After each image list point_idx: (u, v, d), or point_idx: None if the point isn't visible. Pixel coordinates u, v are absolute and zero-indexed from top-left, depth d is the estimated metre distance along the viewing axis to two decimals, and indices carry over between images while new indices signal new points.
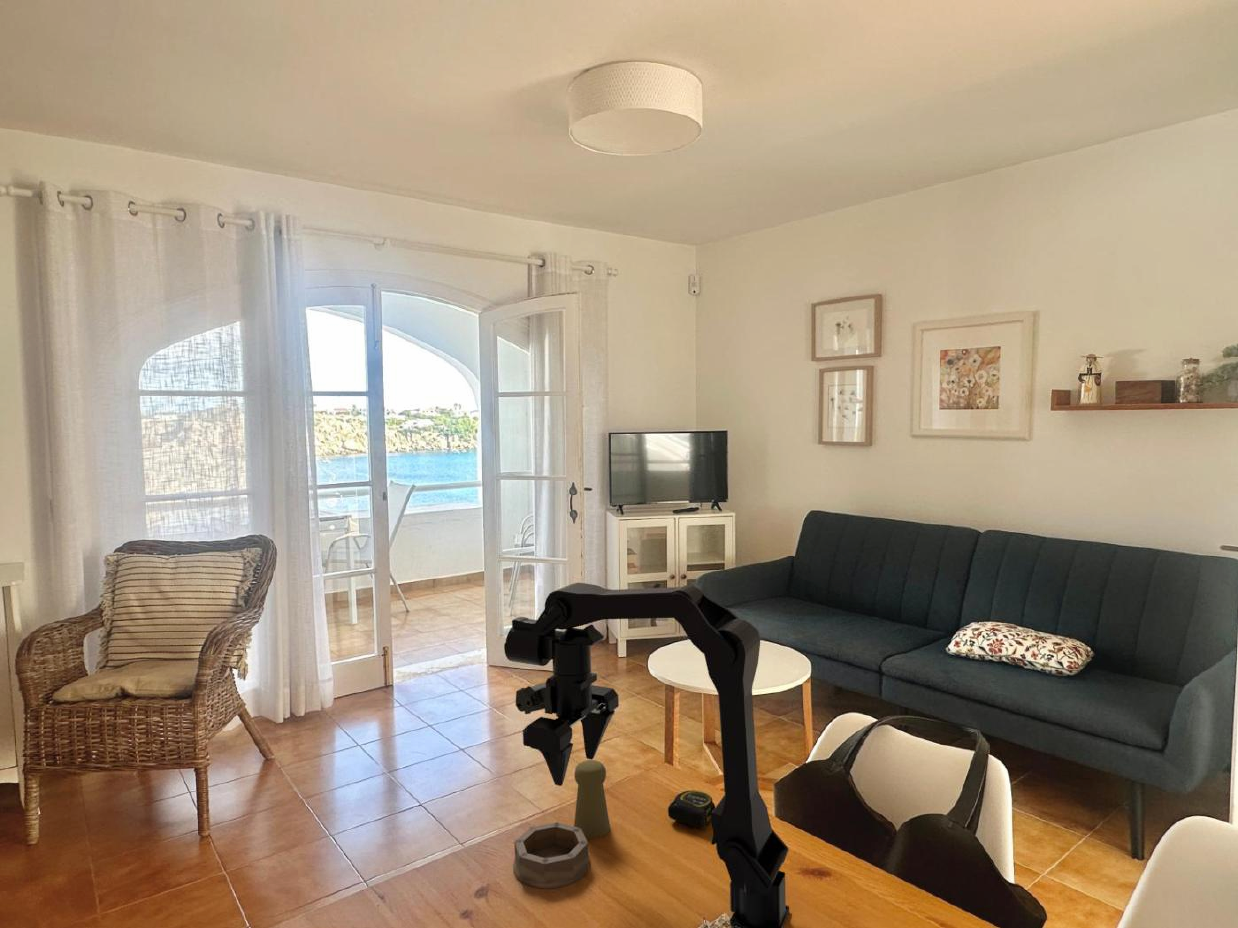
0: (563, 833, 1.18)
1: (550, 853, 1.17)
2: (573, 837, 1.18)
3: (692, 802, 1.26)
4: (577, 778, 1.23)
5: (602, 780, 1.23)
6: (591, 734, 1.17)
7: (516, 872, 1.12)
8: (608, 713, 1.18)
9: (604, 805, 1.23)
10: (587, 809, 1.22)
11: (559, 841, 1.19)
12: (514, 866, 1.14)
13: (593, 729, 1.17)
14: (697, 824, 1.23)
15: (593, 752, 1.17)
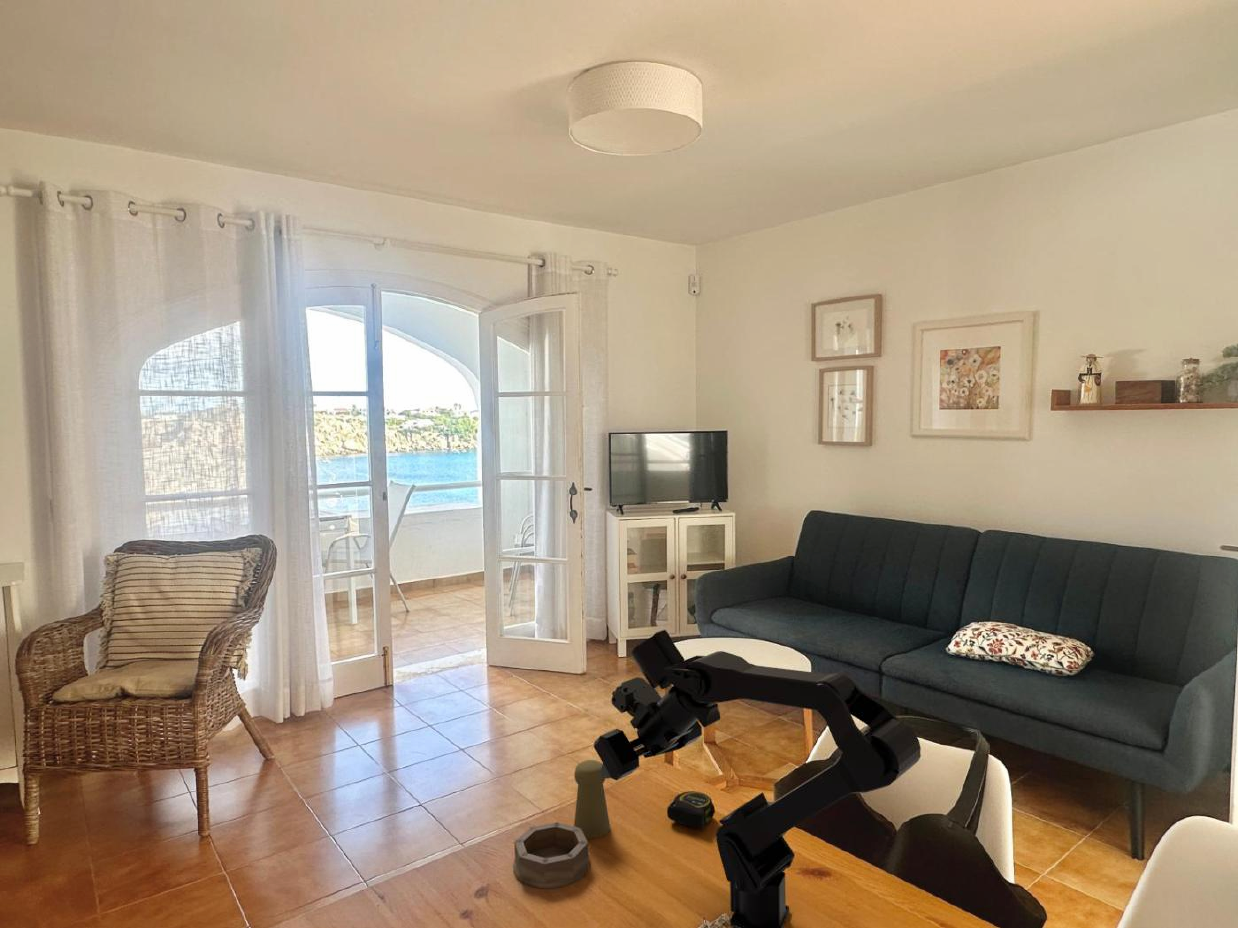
0: (563, 833, 1.18)
1: (550, 853, 1.17)
2: (573, 837, 1.18)
3: (691, 803, 1.25)
4: (577, 778, 1.23)
5: (602, 780, 1.23)
6: None
7: (516, 872, 1.12)
8: (682, 743, 1.18)
9: (604, 805, 1.23)
10: (587, 809, 1.22)
11: (559, 841, 1.19)
12: (514, 866, 1.14)
13: None
14: (696, 825, 1.23)
15: (649, 755, 1.20)
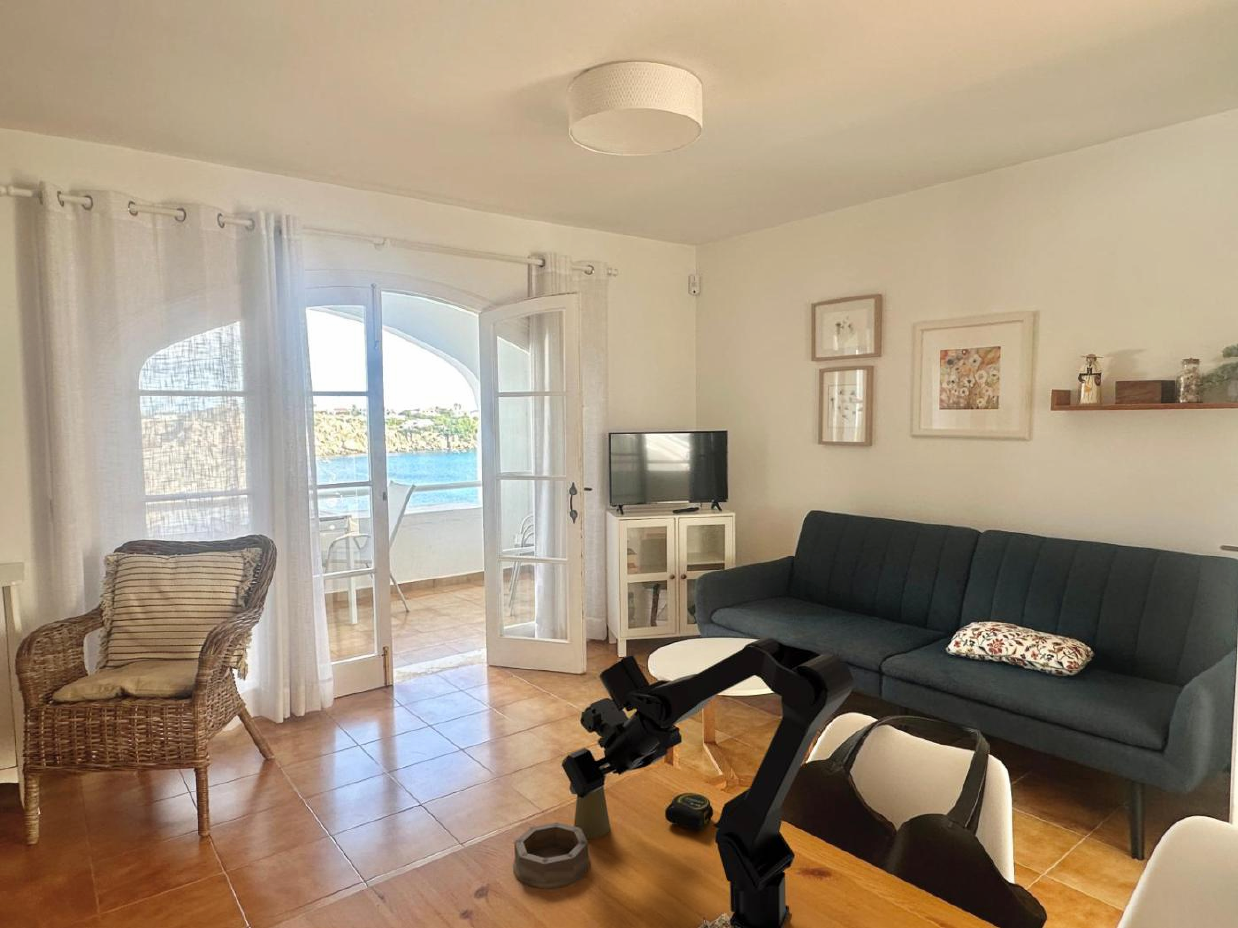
0: (563, 833, 1.18)
1: (550, 853, 1.17)
2: (573, 837, 1.18)
3: (690, 805, 1.25)
4: None
5: None
6: None
7: (516, 872, 1.12)
8: (648, 761, 1.24)
9: (604, 805, 1.23)
10: (587, 809, 1.22)
11: (559, 841, 1.19)
12: (514, 866, 1.14)
13: None
14: (694, 827, 1.22)
15: (617, 772, 1.26)
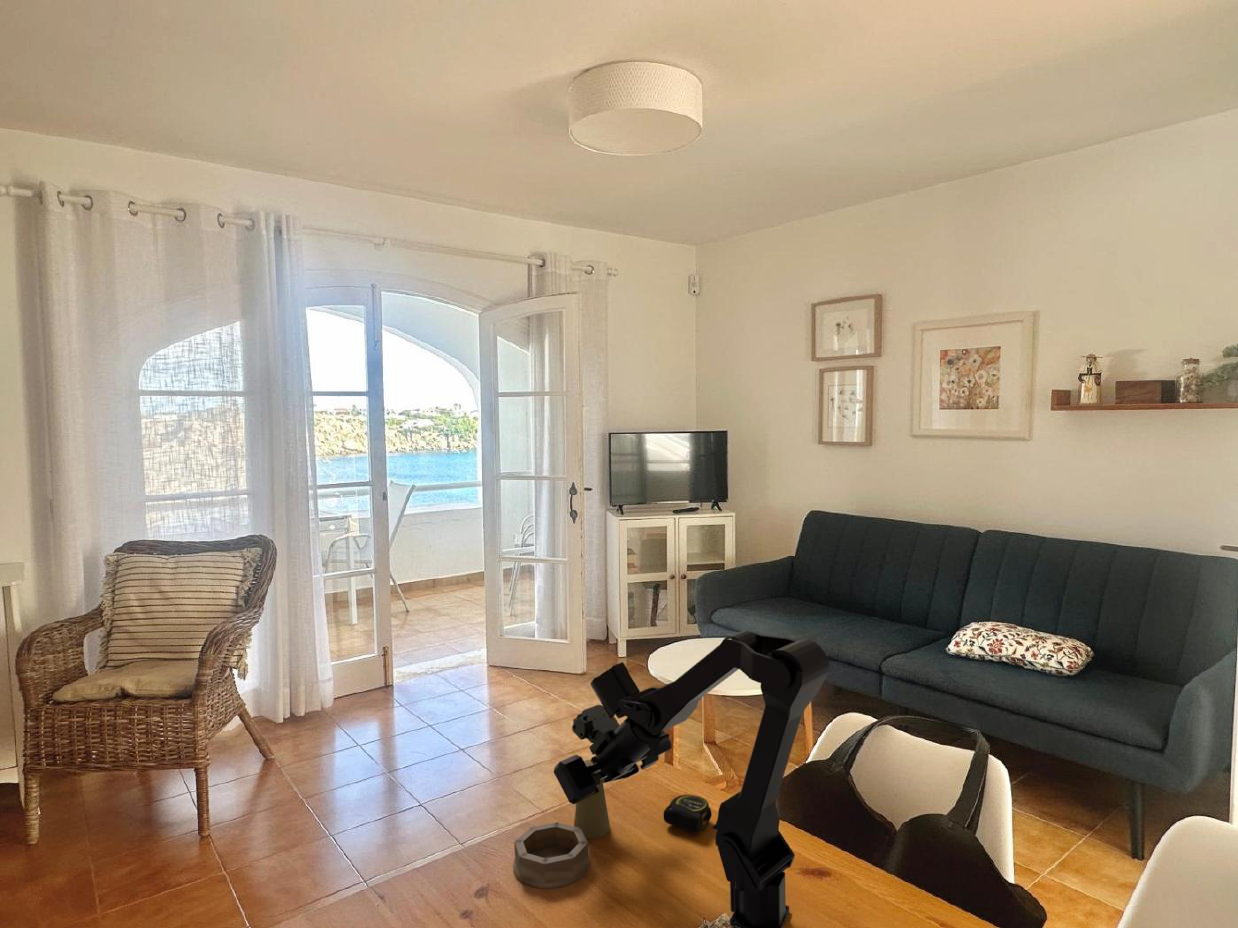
0: (563, 833, 1.18)
1: (550, 853, 1.17)
2: (573, 837, 1.18)
3: (688, 807, 1.24)
4: None
5: (602, 780, 1.23)
6: None
7: (516, 872, 1.12)
8: (632, 771, 1.24)
9: (604, 805, 1.23)
10: (587, 809, 1.22)
11: (559, 841, 1.19)
12: (514, 866, 1.14)
13: None
14: (693, 829, 1.22)
15: None
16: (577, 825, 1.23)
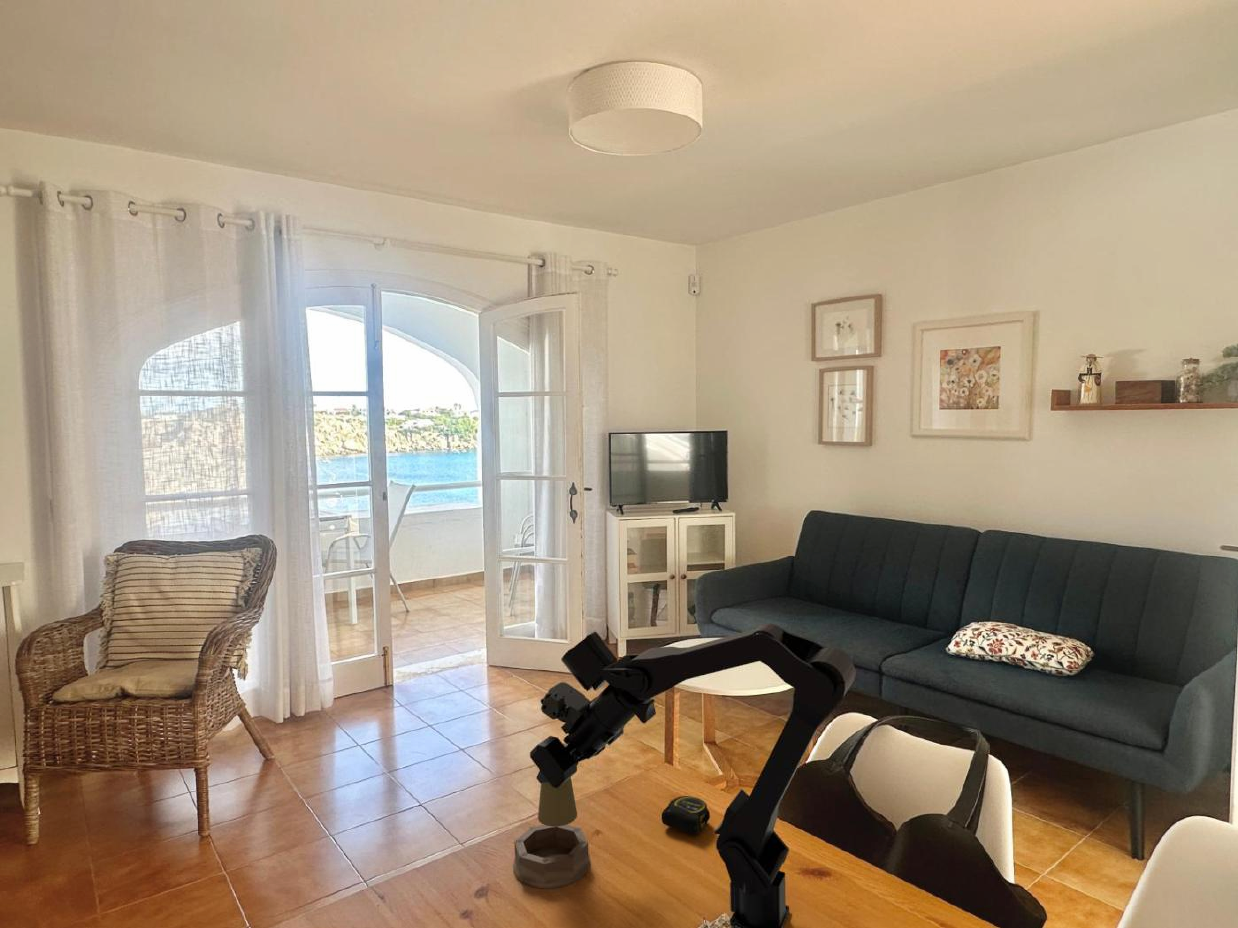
0: (563, 833, 1.18)
1: (550, 853, 1.17)
2: (573, 837, 1.18)
3: (686, 808, 1.24)
4: None
5: None
6: (573, 752, 1.17)
7: (516, 872, 1.12)
8: None
9: (572, 789, 1.16)
10: (556, 795, 1.14)
11: (559, 841, 1.19)
12: (514, 866, 1.14)
13: None
14: (691, 830, 1.21)
15: None
16: (545, 814, 1.14)
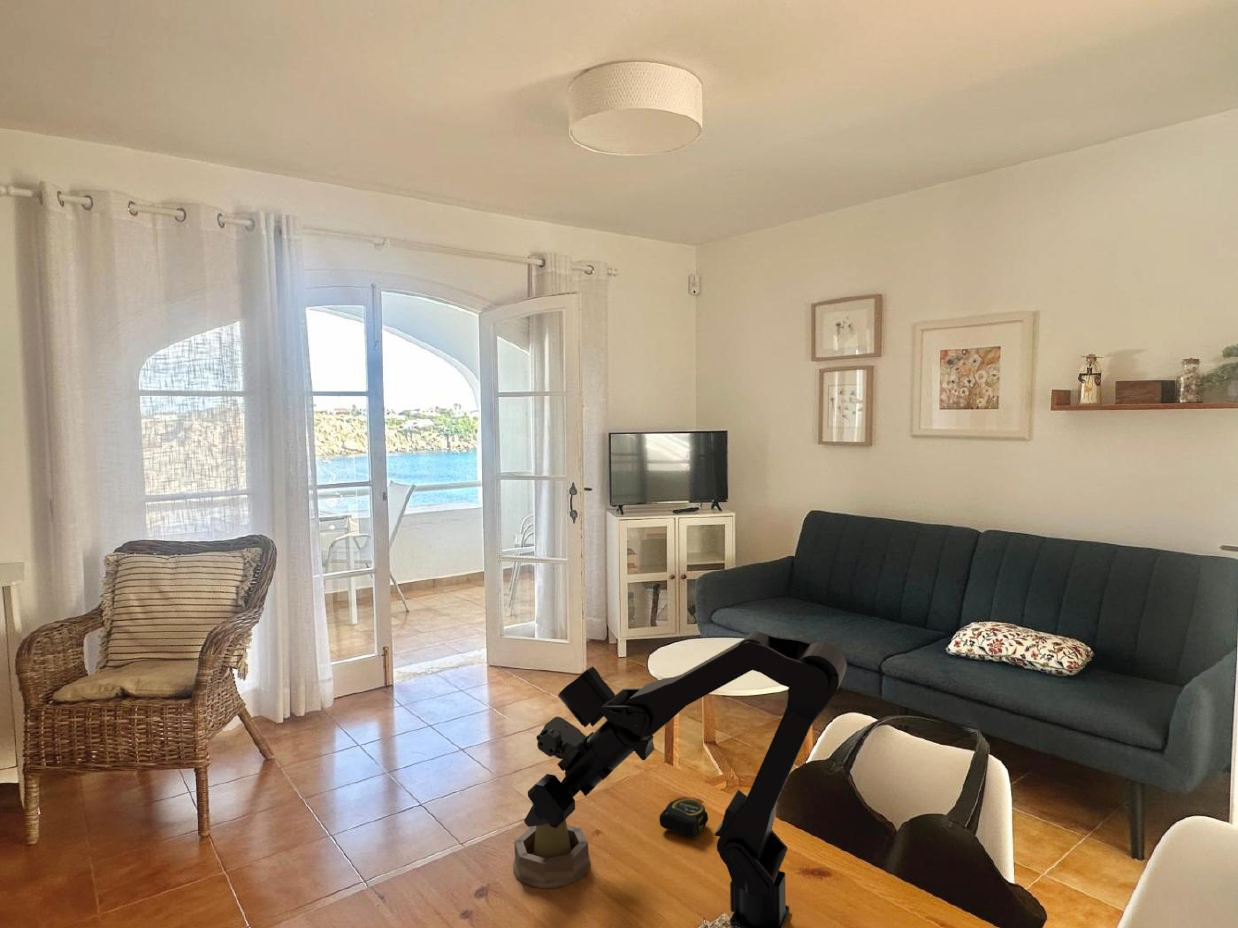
0: None
1: None
2: (573, 837, 1.18)
3: (684, 811, 1.23)
4: None
5: None
6: None
7: (516, 872, 1.12)
8: None
9: (567, 833, 1.14)
10: (552, 841, 1.12)
11: None
12: (514, 866, 1.14)
13: None
14: (689, 833, 1.20)
15: None
16: None
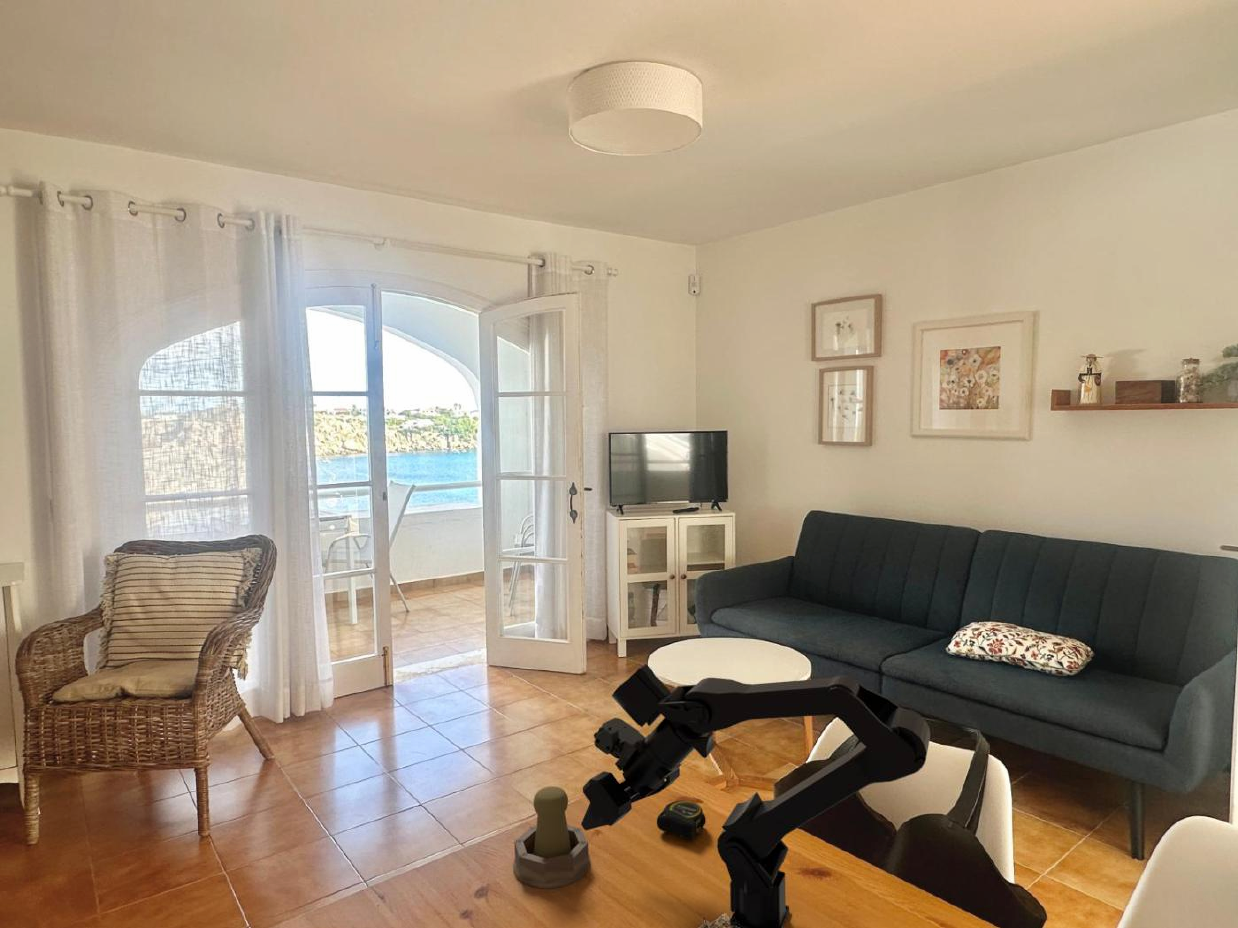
0: None
1: None
2: (573, 837, 1.18)
3: (682, 813, 1.22)
4: (540, 809, 1.12)
5: (566, 806, 1.14)
6: None
7: (516, 872, 1.12)
8: (661, 786, 1.13)
9: (567, 833, 1.14)
10: (553, 841, 1.12)
11: None
12: (514, 866, 1.14)
13: None
14: (686, 836, 1.20)
15: None
16: None
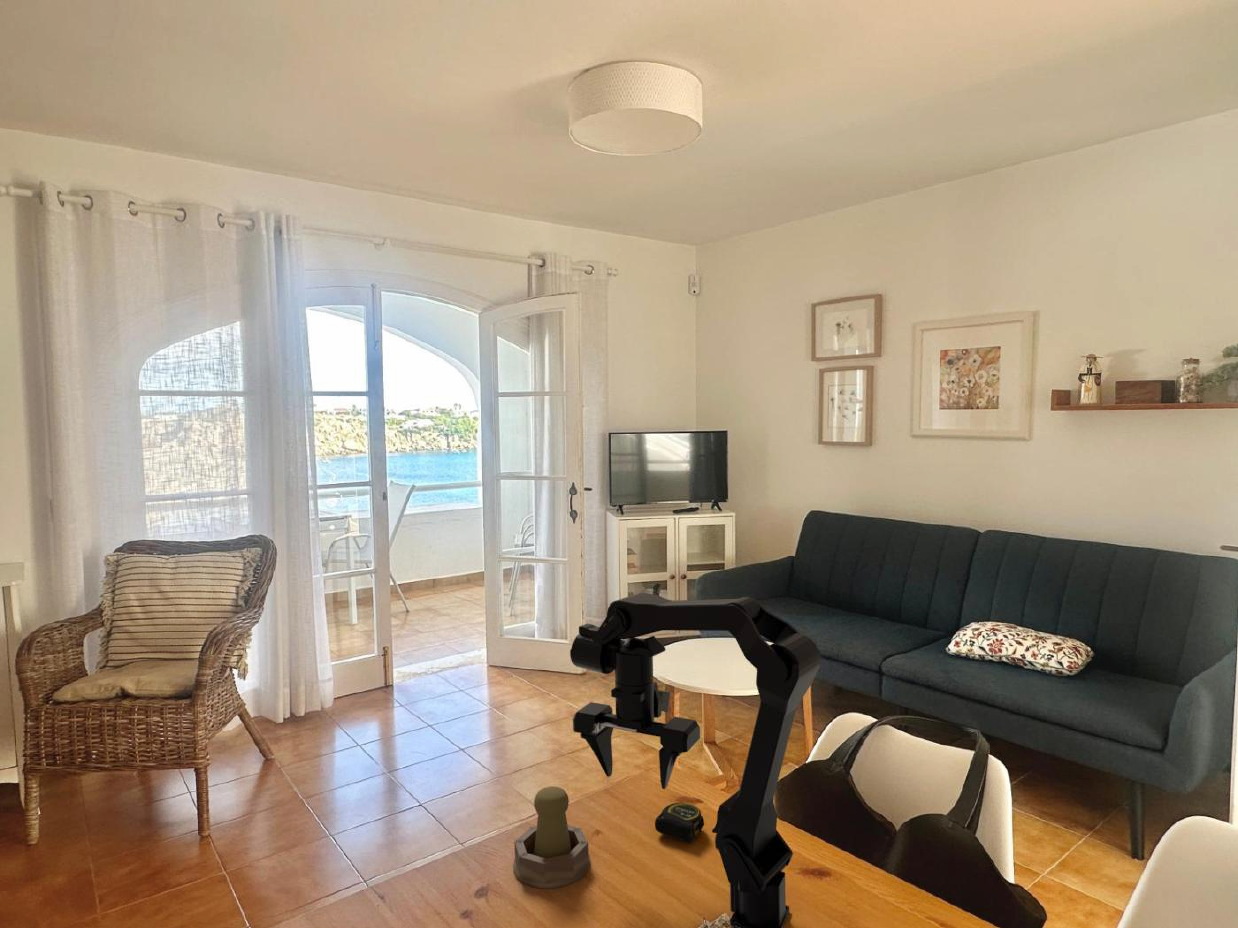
0: None
1: None
2: (573, 837, 1.18)
3: (680, 815, 1.22)
4: (540, 809, 1.12)
5: (567, 806, 1.14)
6: None
7: (516, 872, 1.12)
8: (668, 750, 1.08)
9: (568, 833, 1.14)
10: (553, 841, 1.12)
11: None
12: (514, 866, 1.14)
13: None
14: (684, 838, 1.19)
15: (661, 781, 1.11)
16: None
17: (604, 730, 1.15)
